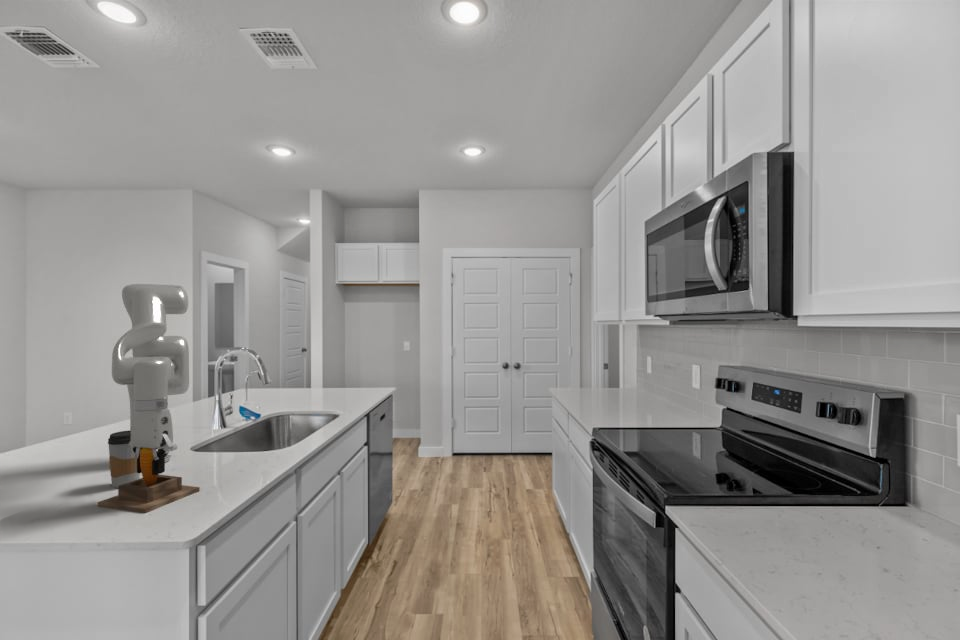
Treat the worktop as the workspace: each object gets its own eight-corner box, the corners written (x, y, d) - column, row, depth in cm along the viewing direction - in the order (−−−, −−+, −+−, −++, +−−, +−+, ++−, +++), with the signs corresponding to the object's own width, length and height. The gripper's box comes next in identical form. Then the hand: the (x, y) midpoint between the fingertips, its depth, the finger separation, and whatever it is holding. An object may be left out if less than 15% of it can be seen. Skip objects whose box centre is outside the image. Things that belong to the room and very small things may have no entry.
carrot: (146, 485, 130) (146, 430, 130) (165, 484, 131) (165, 430, 131) (135, 491, 125) (134, 435, 125) (155, 491, 126) (154, 434, 126)
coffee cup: (150, 481, 141) (150, 431, 141) (120, 491, 133) (120, 437, 133) (130, 478, 144) (130, 428, 144) (100, 487, 136) (100, 435, 136)
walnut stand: (155, 485, 138) (155, 469, 138) (199, 490, 133) (199, 474, 133) (97, 506, 122) (97, 488, 122) (145, 513, 118) (145, 495, 118)
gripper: (187, 404, 129) (187, 471, 129) (140, 401, 134) (140, 465, 134) (162, 409, 122) (162, 480, 122) (113, 405, 127) (113, 474, 127)
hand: (150, 471), depth 128 cm, fingers closed on carrot, 4 cm apart
